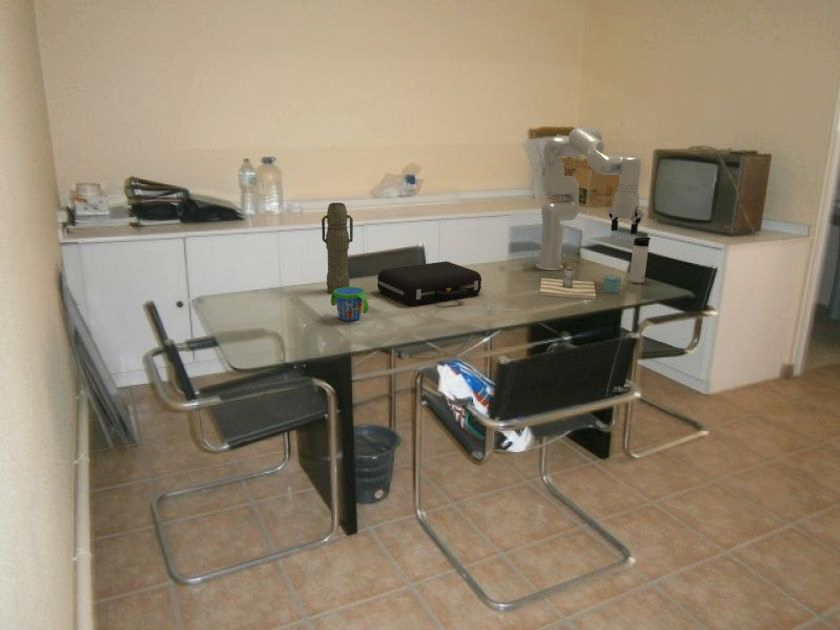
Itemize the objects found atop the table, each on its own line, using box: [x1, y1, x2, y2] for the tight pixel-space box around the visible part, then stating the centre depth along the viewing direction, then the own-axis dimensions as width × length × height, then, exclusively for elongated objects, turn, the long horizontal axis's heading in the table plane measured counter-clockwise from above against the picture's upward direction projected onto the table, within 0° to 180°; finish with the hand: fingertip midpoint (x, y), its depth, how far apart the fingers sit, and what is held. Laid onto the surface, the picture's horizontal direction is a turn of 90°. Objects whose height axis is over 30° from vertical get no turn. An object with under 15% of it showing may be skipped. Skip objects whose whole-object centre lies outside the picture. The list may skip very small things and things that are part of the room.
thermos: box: [321, 202, 354, 295], centre depth 257 cm, size 9×12×35 cm
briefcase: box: [376, 260, 483, 307], centre depth 258 cm, size 36×32×10 cm
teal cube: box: [602, 274, 622, 294], centre depth 272 cm, size 6×6×6 cm
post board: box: [539, 266, 597, 300], centre depth 271 cm, size 22×22×10 cm
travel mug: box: [628, 236, 651, 284], centre depth 284 cm, size 6×7×20 cm
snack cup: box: [330, 286, 369, 322], centre depth 228 cm, size 16×10×10 cm
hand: (623, 232), depth 264 cm, fingers open, 9 cm apart
